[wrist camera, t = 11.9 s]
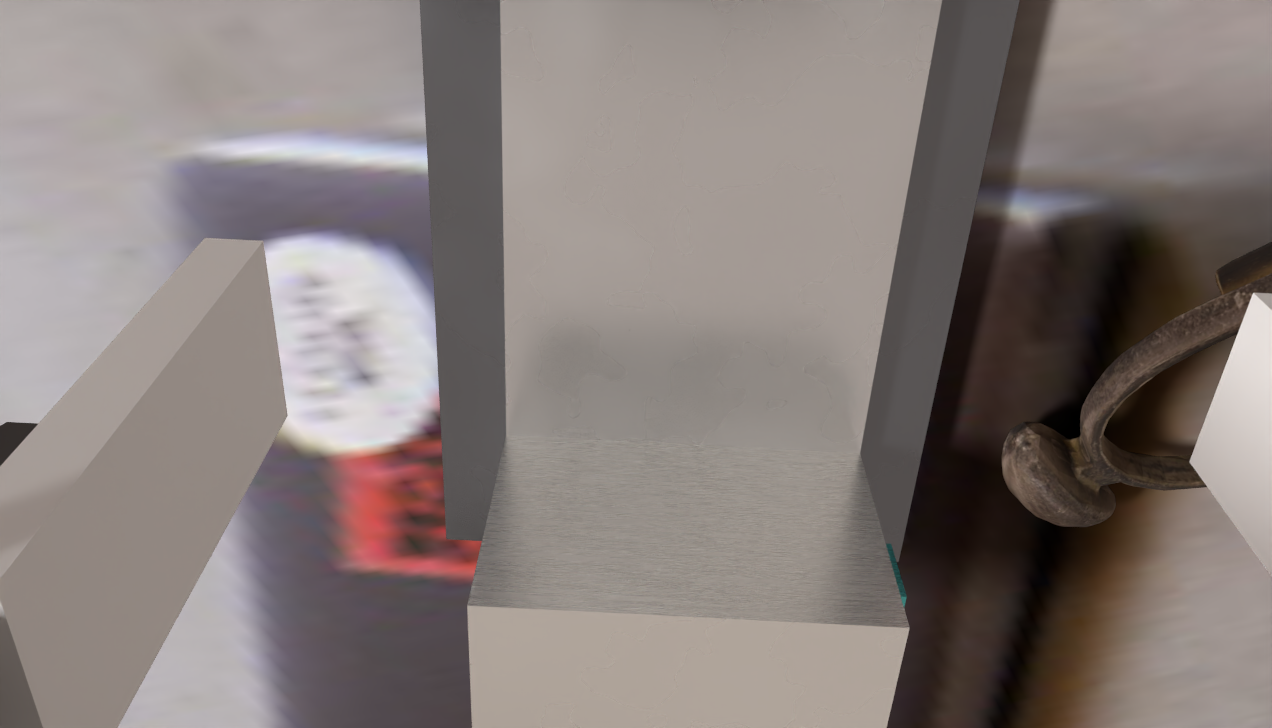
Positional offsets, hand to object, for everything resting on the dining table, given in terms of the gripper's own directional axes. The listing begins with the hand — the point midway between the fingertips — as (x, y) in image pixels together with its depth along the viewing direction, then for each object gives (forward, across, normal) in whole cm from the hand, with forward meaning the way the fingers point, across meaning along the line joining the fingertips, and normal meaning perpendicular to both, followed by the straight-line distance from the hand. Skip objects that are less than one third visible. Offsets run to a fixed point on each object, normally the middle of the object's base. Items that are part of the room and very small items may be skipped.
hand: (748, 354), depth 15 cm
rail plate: (+14, 0, -1) cm, 15 cm away
